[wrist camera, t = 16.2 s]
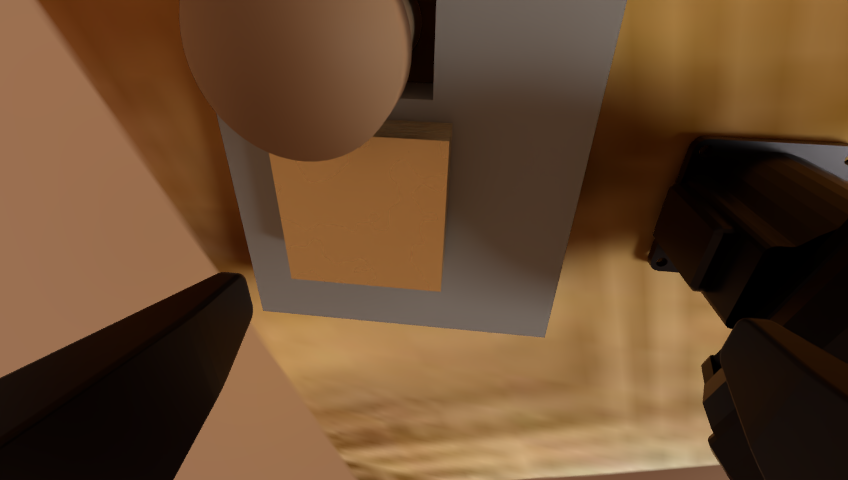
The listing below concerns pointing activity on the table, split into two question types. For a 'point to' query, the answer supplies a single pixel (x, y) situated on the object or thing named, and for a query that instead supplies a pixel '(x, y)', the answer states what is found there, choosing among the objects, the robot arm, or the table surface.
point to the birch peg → (301, 68)
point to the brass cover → (370, 209)
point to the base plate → (472, 168)
